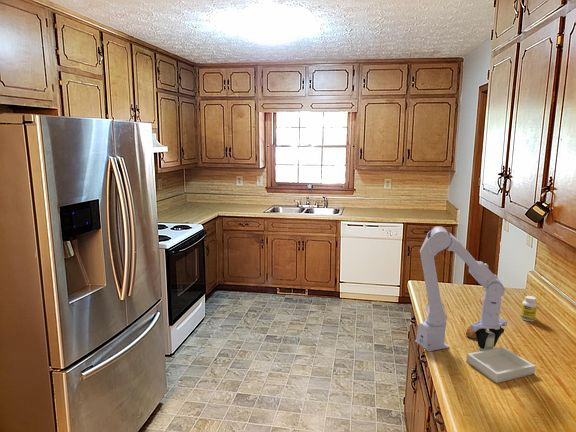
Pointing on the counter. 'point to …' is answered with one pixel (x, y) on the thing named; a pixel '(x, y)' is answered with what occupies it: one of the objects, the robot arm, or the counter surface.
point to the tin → (489, 341)
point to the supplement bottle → (529, 308)
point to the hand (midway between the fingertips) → (486, 346)
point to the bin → (500, 364)
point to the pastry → (471, 333)
